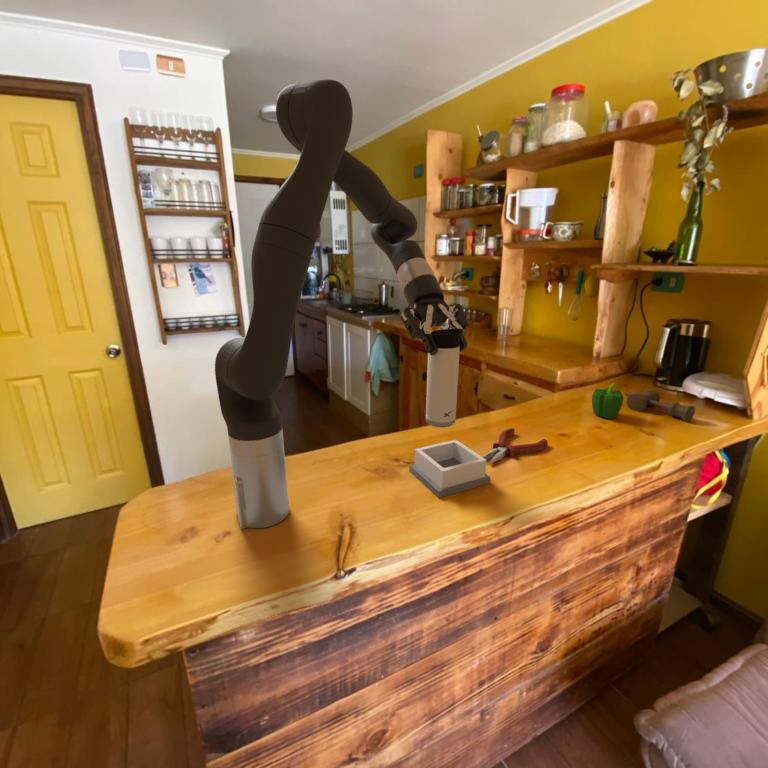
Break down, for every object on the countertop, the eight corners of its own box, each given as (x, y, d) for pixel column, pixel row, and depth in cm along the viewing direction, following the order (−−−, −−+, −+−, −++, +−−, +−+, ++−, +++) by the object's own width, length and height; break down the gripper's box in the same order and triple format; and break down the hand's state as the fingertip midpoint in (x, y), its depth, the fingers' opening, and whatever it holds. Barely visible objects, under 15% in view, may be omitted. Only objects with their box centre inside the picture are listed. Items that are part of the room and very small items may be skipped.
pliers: (464, 457, 101) (464, 447, 100) (509, 434, 114) (510, 425, 113) (505, 475, 93) (506, 465, 92) (549, 448, 106) (550, 439, 105)
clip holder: (438, 498, 83) (439, 473, 82) (409, 471, 94) (409, 449, 92) (489, 483, 89) (491, 460, 87) (456, 459, 99) (458, 438, 97)
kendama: (681, 427, 119) (613, 404, 135) (696, 421, 124) (629, 399, 140) (687, 407, 117) (617, 387, 133) (702, 402, 122) (633, 383, 138)
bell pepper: (602, 422, 121) (608, 389, 117) (584, 412, 128) (589, 381, 125) (627, 420, 122) (633, 387, 119) (608, 410, 130) (613, 379, 127)
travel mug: (454, 429, 84) (460, 332, 78) (422, 425, 86) (425, 330, 80) (458, 418, 90) (464, 326, 84) (429, 414, 92) (432, 325, 86)
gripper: (395, 274, 82) (426, 344, 76) (455, 272, 88) (488, 337, 82) (383, 298, 88) (410, 365, 82) (440, 294, 94) (469, 357, 88)
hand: (449, 351), depth 82 cm, fingers closed on travel mug, 6 cm apart
